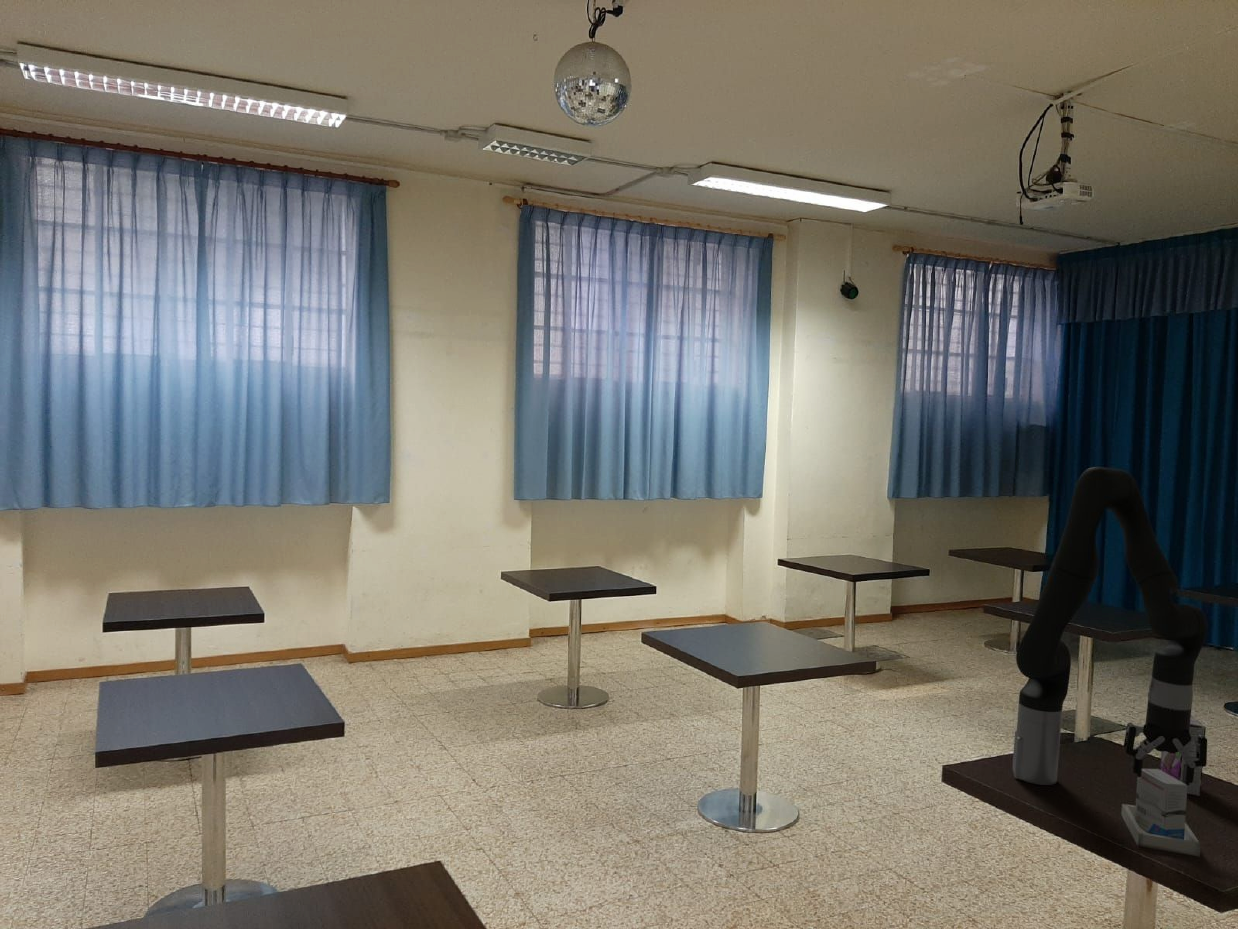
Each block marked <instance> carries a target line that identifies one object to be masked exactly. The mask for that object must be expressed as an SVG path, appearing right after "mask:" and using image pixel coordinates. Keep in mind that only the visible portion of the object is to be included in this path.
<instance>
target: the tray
mask: <svg viewBox="0 0 1238 929" xmlns="http://www.w3.org/2000/svg"><path fill="white" fill-rule="evenodd" d="M1135 807H1136V805H1134V804H1133V805H1132V804H1126V803H1122V804H1121V812H1120V813H1121V814H1120V815H1121V817H1122V819H1123V821H1124V823H1125V825H1126V827H1127V828H1128V830H1129V832H1130V835H1131V836H1132V838H1133V840H1134V841H1135V844H1136V845H1137V847H1143V848H1149V849H1155V850H1160V851H1164V852H1165V851H1166V852H1171V853H1177V854H1183V855H1189V856H1193V857H1200V855H1201V845H1202V844H1201V843H1200V841H1199V840H1198V838H1197V837H1196V835H1195V834H1194V833H1193V831H1192V830H1191V828H1190V827H1189V825H1188V824H1187V822H1186V821H1185V834H1184V840H1183V839H1177V838H1171V837H1165V836H1160V835H1154V834H1151V833H1149V832H1147V831H1146V830H1144V829H1143V828H1141V827H1140V826H1138V824H1137V822H1136V820H1135Z"/></svg>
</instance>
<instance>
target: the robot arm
mask: <svg viewBox="0 0 1238 929" xmlns="http://www.w3.org/2000/svg"><path fill="white" fill-rule="evenodd" d="M1105 511H1110V512H1111V513H1112V514H1113V515H1114V516H1115V518H1116V519H1117V521H1118V523H1119V525H1120V526H1121V529H1122V532H1123V536H1124V552H1125V559H1126V563H1127V566H1128V568H1129V571H1130V573H1131V575H1132V577H1133V579H1134V581H1135V583H1136V584H1137V587H1138V589H1139V590H1140V592H1141V599H1142V603H1143V604H1142V605H1143V608H1144V614H1145V619H1146V621H1147V624H1148V626H1149V628H1150V630H1151V631H1152V632H1153V633H1154V635H1156V636H1157V637H1158V638H1160V639H1162V640H1164V641H1168V642H1167V644H1166V646H1164V647H1162V648H1160V649H1158V650H1156V652H1155V653H1154V656H1153V663H1152V671H1151V678H1150V679H1151V680H1150V682H1149V688H1148V692H1147V704H1146V705H1147V708H1146V714H1145V715H1146V716H1145V724H1144V725H1142V726H1139V725H1136V724H1134V723H1132V722H1128V723H1127V725H1126V728H1125V729H1126V730H1125V735H1124V742H1123V750H1124V752H1125V754H1127V755H1129V756H1130V757H1131V756H1132V762H1131V771H1132V772H1133V774H1134V775H1135V776H1136V778H1137V777H1141V772H1142V769H1143V761H1144V760H1143V758H1144V757H1145V756H1146V755H1148V754H1150V753H1151V752H1153V751H1154V750H1156V752H1164V751H1166V752H1169V753H1173V754H1175V753H1177V752H1179V753H1180V754H1181V756H1182V757H1183V759H1184V760H1185V761H1186V764H1184V768H1183V777H1182V782H1183V783H1184V784H1186V785H1188V786H1189V783H1192V782H1193V777H1194V769H1195V768H1196V767H1198V766H1202V767H1203V768H1204V767H1206V766H1207V761H1208V760H1207V758H1208V738H1207V737H1206V735H1205V736H1204V735H1203V734H1200V733H1199V734H1197V735H1193V734H1190V733H1189V728H1190V718H1191V716H1192V706H1193V698H1194V692H1193V690H1194V688H1193V682H1194V673H1195V664H1196V661H1197V659H1198V657H1199V655H1200V653H1201V650H1202V649H1203V648H1202V647H1203V645H1204V643H1205V640H1206V637H1207V634H1208V620H1207V617H1206V615H1205V613H1204V611H1203V610H1202V609H1201V608H1199V607H1198V606H1195V605H1194V604H1189V603H1185V604H1181V603H1180V604H1176V603H1175V602H1174V600H1173V598H1172V597H1173V594H1175V593H1176V592H1177V591H1178V589H1179V586H1180V585H1179V581H1178V579H1177V576H1176V574H1175V573H1174V572H1173V569H1172V567H1171V566H1170V564H1169V561H1168V560H1167V558H1166V556H1165V555H1164V552H1163V551H1162V549H1161V547H1160V545H1159V543H1158V540H1157V537H1156V534H1155V532H1154V530H1153V529H1154V528H1153V527H1152V524H1151V521H1150V518H1149V515H1148V512H1147V509H1146V507H1145V504H1144V500H1143V497H1142V494H1141V491H1140V488H1139V486H1138V484H1137V482H1136V479H1135V478H1134V476H1133V475H1132V474H1131V473H1130V472H1128V471H1126V470H1124V469H1120V468H1111V467H1105V466H1104V467H1103V466H1091V467H1089V468H1087V469H1085V471H1083V472H1082V473H1081V475H1080V476H1079V478H1078V480H1077V482H1076V485H1075V487H1074V492H1073V496H1072V500H1071V503H1070V508H1069V512H1068V516H1067V520H1066V524H1065V527H1064V530H1063V532H1062V535H1061V538H1060V541H1059V544H1058V548H1057V550H1056V553H1055V556H1054V558H1053V560H1052V563H1051V566H1050V569H1049V570H1048V574H1047V577H1046V579H1045V583H1044V586H1043V588H1042V592H1041V593H1040V594H1041V595H1040V597H1039V600H1038V603H1037V605H1036V609H1035V611H1034V614H1033V616H1032V619H1031V621H1030V623H1029V625H1028V627H1027V629H1026V631H1025V633H1024V635H1023V637H1022V639H1021V640H1020V643H1019V645H1018V647H1017V651H1016V654H1015V660H1016V665H1017V667H1018V671H1019V672H1020V673H1021V674H1022V675H1023V676H1025V678H1028V680H1027V681H1026V683H1025V685H1024V686H1023V687H1022V689H1020V692H1019V695H1018V696H1019V697H1018V708H1017V722H1016V730H1015V731H1014V739H1013V740H1014V741H1013V756H1012V774H1013V778H1015V779H1017V780H1021V781H1024V782H1027V783H1030V784H1034V785H1040V786H1051V785H1055V784H1057V781H1058V774H1059V772H1058V768H1059V757H1060V743H1061V732H1062V720H1063V719H1062V717H1063V707H1064V706H1063V705H1064V702H1065V700H1066V697H1067V695H1068V692H1069V683H1070V674H1071V669H1072V668H1071V666H1072V659H1071V658H1072V657H1071V654H1070V650H1069V648H1068V646H1067V644H1066V643H1065V642H1064V641H1063V640H1062V636H1063V634H1064V632H1065V630H1066V628H1067V626H1068V625H1069V623H1070V622H1071V621H1072V620H1073V618H1074V617H1075V616H1076V614H1077V613H1078V612H1079V610H1081V608H1082V607H1083V606H1084V604H1086V601H1087V600H1088V597H1089V596H1090V594H1091V592H1092V589H1093V586H1094V584H1095V582H1096V578H1097V576H1098V573H1099V569H1100V568H1099V567H1100V561H1099V560H1100V559H1099V553H1098V546H1097V532H1098V529H1099V525H1100V523H1101V520H1102V517H1103V515H1104V513H1105ZM1140 734H1143V735H1144V737H1145V738H1144V739H1143V740H1142V741H1141V742H1140V743H1139V745H1138V746H1136V748H1134V746H1135V740H1136V737H1137V738H1138V737H1139V736H1140ZM1191 740H1192V741H1193V743H1194V744H1195V745H1196V758H1191V757H1190V755H1189V754H1188V753H1187V751H1186V750H1185V748H1184V746H1186V745H1187V744H1188V743H1189V742H1190V741H1191Z"/></svg>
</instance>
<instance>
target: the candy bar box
mask: <svg viewBox="0 0 1238 929" xmlns="http://www.w3.org/2000/svg"><path fill="white" fill-rule="evenodd" d="M1206 729H1207V726H1205V725H1204V724H1203V723H1201V722H1200V721H1198V719H1196V718H1195V717H1194V716H1192V715H1191V718H1190V728H1189V733H1190V734H1193V735H1197V734H1199V733H1200V734H1203V735H1204V736H1205V737H1206V731H1207V730H1206ZM1184 748H1185V750H1186V751H1187V753H1188V754H1189V755H1190V757H1191V758H1196V745H1195V744H1194V743H1193V741H1192V740H1191V741H1190V742H1189V743H1188V744H1187V745H1186V746H1184ZM1160 752H1161V751H1160ZM1184 764H1186V761H1185V760H1184V759H1183V757H1182V756H1181V754H1180V753H1179V752H1177V753H1175V754H1173V753H1169V752H1166V751H1164V752H1161V753H1160V766H1159V770H1161V771H1163V772H1165V773H1166V774H1168V775H1170V776H1172V777H1173V778H1175V779H1177V780H1179V781H1181V782H1182V777H1183V768H1184ZM1203 768H1204V767H1202V766H1198V767H1196V768H1195V769H1194V777H1193V782H1192V783H1189V786H1188V785H1187V796H1196V797H1197V796H1199V797H1200V796H1201V792H1202V790H1201V789H1202V780H1203ZM1182 783H1183V782H1182Z"/></svg>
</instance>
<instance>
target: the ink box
mask: <svg viewBox="0 0 1238 929" xmlns="http://www.w3.org/2000/svg"><path fill="white" fill-rule="evenodd" d="M1135 796H1136V797H1135V806H1136V807H1135V820H1136V822H1137V824H1138V826H1140V827H1141V828H1143V829H1144V830H1146V831H1147V832H1149V833H1151V834H1154V835H1160V836H1165V837H1171V838H1177V839H1183V840H1184V834H1185V822H1186V815H1187V814H1186V813H1187V798H1188V795H1187V785H1186V784H1184V783H1182V782H1181V781H1179V780H1177V779H1175V778H1173V777H1172V776H1170V775H1168V774H1166V773H1165V772H1163V771H1161V770H1160V768H1142V772H1141V777H1137V776H1136V794H1135Z"/></svg>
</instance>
